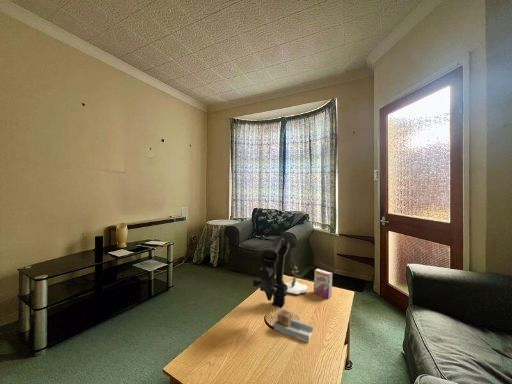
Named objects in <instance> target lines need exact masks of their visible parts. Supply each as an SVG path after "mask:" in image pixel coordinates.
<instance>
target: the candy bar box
mask: <svg viewBox="0 0 512 384" xmlns="http://www.w3.org/2000/svg"><path fill="white" fill-rule="evenodd" d="M313 273H314V275H313V276H314V277H313V293H314V294H316V295H318V296H320V297H323V298H324V299H330V298H331V297H332V294H333V293H332V292H333V290H332V288H333V272H330V271H326V270H323V269H320V268H316V269H314V272H313Z"/></svg>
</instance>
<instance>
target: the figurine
mask: <svg viewBox="0 0 512 384" xmlns="http://www.w3.org/2000/svg"><path fill="white" fill-rule="evenodd" d="M293 269H295V271H294V270H291V275H294V277H293V278H292V281H290V282H284V284H285V285H287V287H288V289H287V291H286V293H290V294H295V295H299V294H301V293H302V294H304V293H307V292H308V289H309V287H308V286H307V285H306V284H302V283H301V282H298V281H297V279H296V277H298V278H299V277H301V276H300V275H297V273H299V271H300V269H299V270H298V267H297V266H296V265H294V268H293Z"/></svg>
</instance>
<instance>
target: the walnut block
mask: <svg viewBox="0 0 512 384" xmlns="http://www.w3.org/2000/svg"><path fill="white" fill-rule="evenodd" d="M292 315H293V314H292V312H291V311H288V310H285V309H280V310H279V311H278V313H277V319H276V321H277V324H281V325H284V326H286V327H289V328H290V327H291V319H292V317H293V316H292Z"/></svg>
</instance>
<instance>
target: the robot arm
mask: <svg viewBox="0 0 512 384" xmlns="http://www.w3.org/2000/svg"><path fill="white" fill-rule="evenodd" d="M289 250H290V242H289V241H287V240H286V239H285V238H284V237H278V236H277V237H276V238H275V240H274V241H273V242H272V244H271V246H269V247H266V248H265V249H264V250H263V252H262V255H261V259H260V260H261V261H260V264H262V267H261V268H260V269H259V270H258V274H257V275H258V277H256V278H254V279H253V281H252V286H253V287H256V288H258V287H259V290H260V291H261V292H264V294H265V296H266V299H267V301H268V302H271V301H272V303H271V306H275V307H277V308H283V306H285V304H286V297H287V292H286V291H287V289H288V287H287V285H285V282H284V271H285V269H284V268H285V262H286V261H285V258H286V255H287V254H288V252H289Z"/></svg>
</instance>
